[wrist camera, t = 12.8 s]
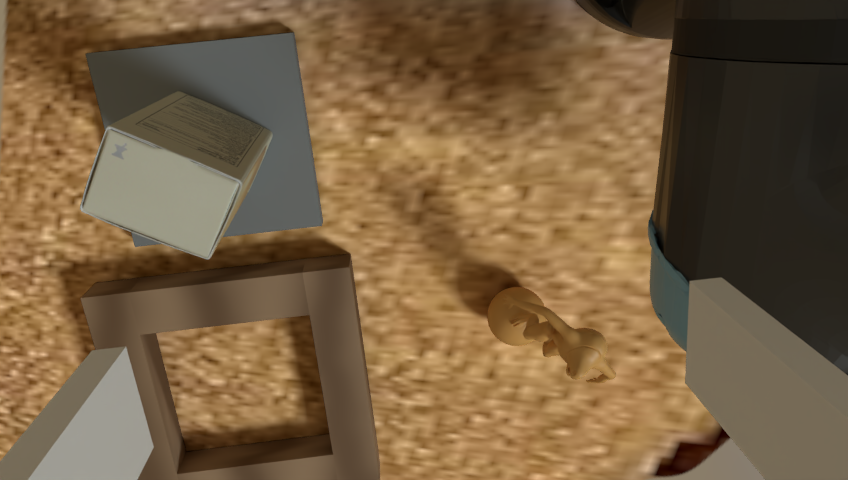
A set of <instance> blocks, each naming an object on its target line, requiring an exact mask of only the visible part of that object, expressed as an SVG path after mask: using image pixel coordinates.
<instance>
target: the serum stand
mask: <svg viewBox="0 0 848 480" xmlns="http://www.w3.org/2000/svg"><path fill="white" fill-rule="evenodd" d="M80 299H81V302H82V305H83V309H84V312H85V316H86V319H87V322H88V326H89V329H90V333H91V336H92V339H93V343H94V346H95V350H100V349H108V348H117V347H126V348H127V352H128V356H129V359H130V363H131V366H132V370H133V374H134V377H135V381H136V385H137V388H138V392H139V395H140V399H141V403H142V406H143V410H144V414H145V417H146V421H147V424H148V428H149V432H150V435H151V439H152V443H153V446H154V448H153V450H152V452H151V454H150V456H149V458H148V460H147V462H146V464H145V466H144V468H143V470H142V472H141V474H140V476H139V478H138V479H137V480H380V460H379V453H378V445H377V438H376V431H375V424H374V417H373V410H372V403H371V396H370V389H369V381H368V374H367V367H366V360H365V353H364V346H363V339H362V332H361V325H360V318H359V310H358V303H357V296H356V289H355V282H354V275H353V268H352V261H351V254H343V255H335V256H326V257H317V258H308V259H300V260H291V261H282V262H273V263H265V264H256V265H247V266H238V267H230V268H221V269H212V270H203V271H195V272H186V273H177V274H168V275H160V276H151V277H142V278H133V279H125V280H116V281H107V282H98V283H95V284H94V285H93V286H92V287H91V288H90V289H89V290H88V291H87V292H86V293H85V294H84V295H83V296H82V297H81V298H80ZM305 315H310V320H311V326H312V332H313V338H314V344H315V350H316V356H317V362H318V368H319V374H320V380H321V386H322V392H323V398H324V404H325V409H326V415H327V421H328V427H329V433H330V434H326V435H318V436H310V437H302V438H294V439H286V440H278V441H270V442H262V443H253V444H245V445H237V446H229V447H221V448H213V449H205V450H197V451H189V452H186V449H185V445H184V441H183V437H182V434H181V430H180V426H179V422H178V418H177V414H176V410H175V406H174V402H173V399H172V395H171V391H170V387H169V383H168V379H167V375H166V371H165V367H164V364H163V360H162V356H161V352H160V348H159V344H158V340H157V336H156V333H160V332H169V331H177V330H186V329H194V328H203V327H211V326H220V325H228V324H237V323H245V322H254V321H262V320H271V319H279V318H288V317H297V316H305Z"/></svg>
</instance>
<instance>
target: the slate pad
mask: <svg viewBox="0 0 848 480" xmlns="http://www.w3.org/2000/svg"><path fill="white" fill-rule="evenodd" d="M86 58H87V62H88V66H89V70H90V74H91V77H92V81H93V85H94V89H95V93H96V97H97V101H98V105H99V109H100V113H101V116H102V120H103V124H104V128H105V130H106V128H107V126H109V125H111V124H113V123H115V122H117V121H119V120H121V119H123V118H125V117H127V116H129V115H131V114H133V113H135V112H137V111H139V110H141V109H143V108H145V107H147V106H149V105H151V104H153V103H155V102H157V101H159V100H161V99H163V98H165V97H167V96H169V95H171V94H173V93H175V92H177V91H180V92H183V93H185V94H188V95H190V96H193V97H195V98H198V99H200V100H203V101H205V102H207V103H210V104H212V105H215V106H217V107H219V108H222V109H224V110H226V111H228V112H231V113H233V114H235V115H238V116H240V117H242V118H244V119H246V120H249V121H251V122H253V123H255V124H257V125H259V126H261V127H263V128H265V129H268V130H269V131H271V132H272V135H273V136H272V139H271V142H270V144H269V146H268V149H267V151H266V154H265V156H264V159H263V161H262V163H261V165H260V168H259V170H258V172H257V174H256V177H255V179H254V181H253V183H252V186H251V188H250V190H249V192H248V193H247V195H246V197H245V199H244V200H243V202H242V204H241V206H240V207H239V209H238V211H237V213H236V214H235V216H234V218H233V220H232V221H231V223H230V225H229V227H228V228H227V230H226V232H225V233H224V235H223V237H227V236H236V235H244V234H253V233H262V232H271V231H280V230H289V229H298V228H307V227H316V226H322V223H323V218H322V212H321V205H320V198H319V192H318V185H317V179H316V172H315V166H314V159H313V153H312V146H311V140H310V133H309V127H308V120H307V113H306V107H305V100H304V94H303V87H302V81H301V74H300V68H299V61H298V55H297V48H296V42H295V35H294V32H291V33H281V34H271V35H262V36H252V37H242V38H232V39H222V40H212V41H202V42H192V43H183V44H173V45H163V46H153V47H143V48H133V49H123V50H113V51H104V52H94V53H87V54H86ZM131 233H132V232H131ZM132 237H133V241H134V245H135V247H138V246H147V245H156V244H161V243H158V242H156V241H153V240H150V239H148V238H145V237H142V236H140V235H137V234H134V233H132Z"/></svg>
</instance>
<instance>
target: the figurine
mask: <svg viewBox="0 0 848 480" xmlns="http://www.w3.org/2000/svg"><path fill="white" fill-rule="evenodd" d="M487 319H488V324H489V327H490V329H491V331H492V333H493V334H494V335H495V336H496V337H497V338H498V339H499V340H500V341H502V342H503V343H506V344H508V345H512V346H522V345H526V344H529V343H531V342H533V341H534V340H537V341H540V342H544V344H543V355H544V356H545V357H551V356H556V355H560V356H561V357H562V358H563V359H564V361H565V362H566V363H567V368H566V373H567V375H568V376H570V377H571V378H572V379H575V380H577V379H580V378H583V377H584V376H585V375H586V374H587V373H588V371H589V370H590V369H597V370H599V371H600V372H601V373H603V374H602V375H600V376H599V377H598V378H593V379H595V380H593V379H590V380H586V381H587V382H589V383H604V382H606V381H607V380H611V379H614V378H615V376H616V373H615V371H614V370H613V369H612V368H611V366H610V365H609V364H608V363H607V361H606V359H605V355H606V353H607V350H608V347H607V342H606V340H605V338H604V336H603V335H602V334H601V333H599V332H598V331H596V330H593V329H589V328H579V329H573V328H572V327H570V326H568V325H567V324H566V323H565V322H564V321H563V320H562V319H561V318H559V317H558V316H557V315H556V314H555V313H554V312H552V311H551V310H550V309H548V308H546V307H545V306H544V304H543V302H542V301H541V299H540V298H539V297H538V296H537V295H536V294H535V293H534V292H532V291H530V290H528V289H526V288H522V287H511V288H507V289H505V290H503V291H501V292H499V293H498V294H497V295H496V296H495V297H494V298H493V299H492V301H491V303H490V305H489V308H488V313H487ZM546 319H547V320H548V321H546Z"/></svg>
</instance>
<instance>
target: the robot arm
mask: <svg viewBox="0 0 848 480" xmlns="http://www.w3.org/2000/svg"><path fill="white" fill-rule="evenodd" d="M576 1H577V2H578V3H579V4H580V5H581V6H582V7H583V8H584V9H585V10H586V11H587V12H588V13H589V14H590V15H592V16H593V17H594V18H596V19H597V20H599V21H600V22H602V23H603V24H605V25H607V26H609V27H611V28H613V29H615V30H617V31H620V32H623V33H626V34H629V35H633V36H638V37H645V38H655V39H673V41H672V50H671V52H670V60H669V70H668V80H667V91H666V101H665V111H664V121H663V132H662V141H661V149H660V158H659V167H658V175H657V184H656V193H655V201H654V209H653V211H652V214H651V217H650V220H649V225H648V236H649V241H650V245H651V247H652V250H651V269H650V296H651V301H652V305H653V308H654V310H655V313H656V315H657V316H658V318H659V319H660V321H661V322H662V323H663V324H664V325H665V326H666V329H667V330H668V332H669V335H670V336H671V337H672V338H673V340H674V341H675V342H676V343H677V344H678V345H679V346H680V347H681V348H682V349H683V350H685V351H686V352H687V353H686V376H685V383H686V384H687V385H688V387H689V388H690V389H691V390H692V391H693V393H694V394H695V395H696V396H697V398H698V399H699V400H700V401H701V402H702V404H703V405H704V406H705V407H706V408H707V410H708V411H709V412H710V413H711V414H712V416H713V417H714V418H715V419H716V421H717V422H718V423H719V424H720V425H721V427H722V428H723V429H724V430H725V431H726V433H727V434H728V435H729V436H730V437H731V439H732V440H733V441H734V442H735V443H736V445H737V446H738V447H739V448H740V450H741V451H742V452H743V453H744V454H745V456H746V457H747V458H748V459H749V460H750V461H751V463H752V464H753V465H754V466H755V467H756V469H757V470H758V471H759V473H760V474H761V475H762V476H763V477H764V479H765V480H848V0H576ZM153 448H154V446H153V443H152V439H151V435H150V432H149V428H148V424H147V421H146V417H145V414H144V410H143V406H142V403H141V399H140V395H139V392H138V388H137V385H136V381H135V377H134V374H133V370H132V366H131V363H130V359H129V356H128V352H127V348H126V347H117V348H108V349H100V350H92V351H91V352H90V354H89V355H88V356H87V357H86V358H85V360H84V361H83V362H82V363H81V364H80V366H79V367H78V368H77V369H76V370H75V372H74V373H73V374H72V375H71V377H70V378H69V379H68V380H67V381H66V383H65V384H64V385H63V386H62V387H61V389H60V390H59V391H58V392H57V393H56V395H55V396H54V397H53V398H52V399H51V401H50V402H49V403H48V404H47V406H46V407H45V408H44V409H43V410H42V412H41V413H40V414H39V415H38V416H37V418H36V419H35V420H34V421H33V422H32V424H31V425H30V426H29V427H28V429H27V430H26V431H25V432H24V433H23V435H22V436H21V437H20V438H19V439H18V441H17V442H16V443H15V444H14V445H13V447H12V448H11V449H10V450H9V451H8V453H7V454H6V455H5V456H4V458H3V459H2V460H1V461H0V480H137V479H138V478H139V476H140V474H141V472H142V470H143V468H144V466H145V464H146V462H147V460H148V458H149V456H150V454H151V452H152V450H153Z"/></svg>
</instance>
